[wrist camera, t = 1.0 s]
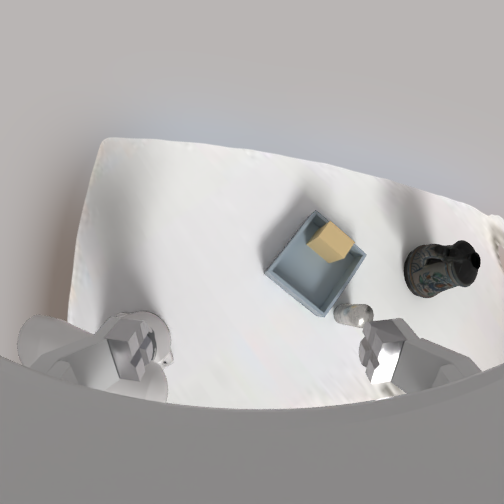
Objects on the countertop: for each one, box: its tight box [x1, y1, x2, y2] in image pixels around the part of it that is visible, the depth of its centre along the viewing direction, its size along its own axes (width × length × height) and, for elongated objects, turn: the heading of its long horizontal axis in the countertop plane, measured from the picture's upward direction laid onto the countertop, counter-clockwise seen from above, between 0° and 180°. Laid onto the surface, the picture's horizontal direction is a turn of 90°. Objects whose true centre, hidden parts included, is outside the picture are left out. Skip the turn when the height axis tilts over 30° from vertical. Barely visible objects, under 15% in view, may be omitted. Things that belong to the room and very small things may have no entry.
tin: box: [334, 304, 374, 328], centre depth 66 cm, size 6×6×12 cm
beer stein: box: [404, 240, 480, 298], centre depth 64 cm, size 16×19×25 cm
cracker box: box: [306, 221, 355, 263], centre depth 68 cm, size 5×8×10 cm, turn 51°
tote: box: [264, 210, 366, 317], centre depth 70 cm, size 20×18×6 cm
